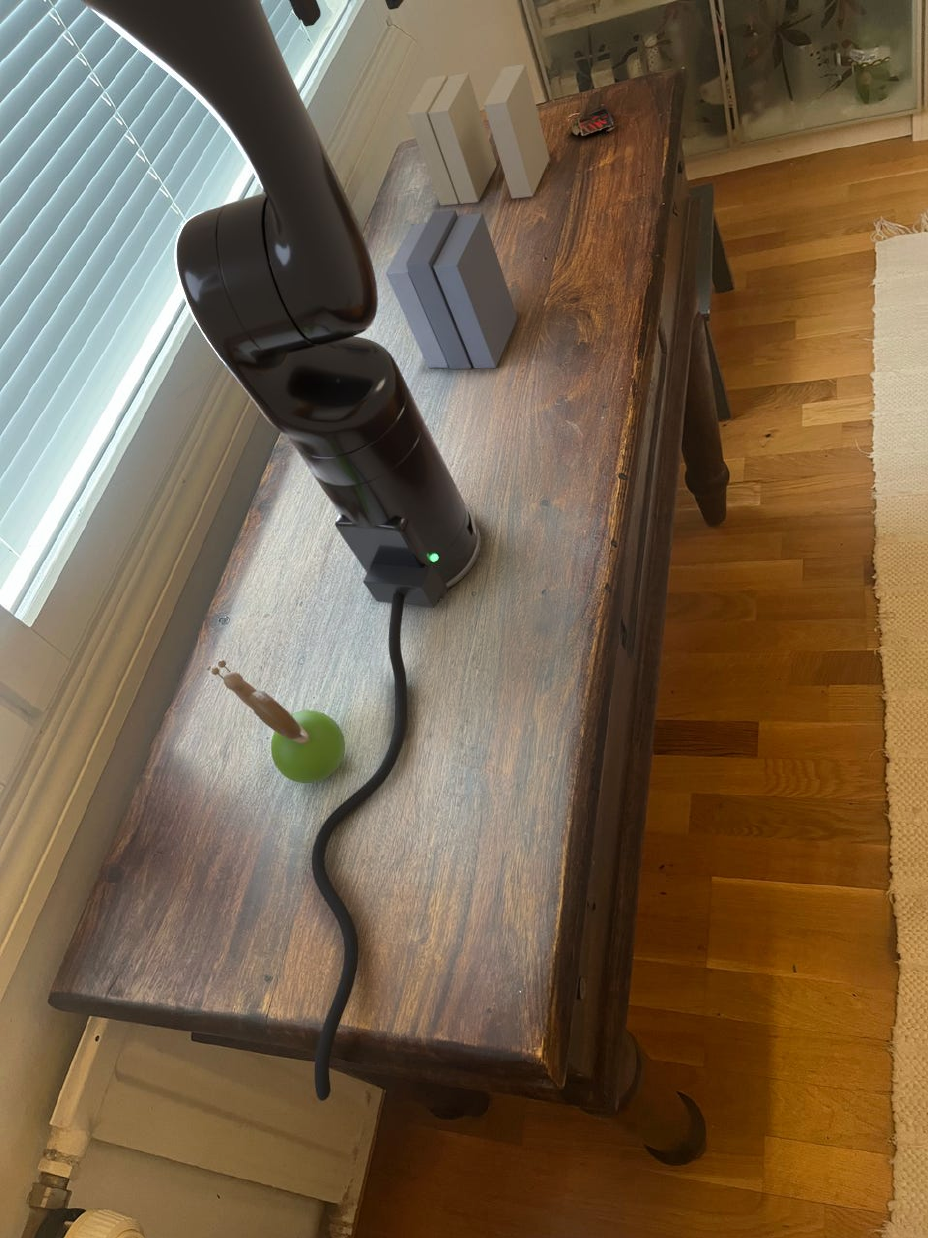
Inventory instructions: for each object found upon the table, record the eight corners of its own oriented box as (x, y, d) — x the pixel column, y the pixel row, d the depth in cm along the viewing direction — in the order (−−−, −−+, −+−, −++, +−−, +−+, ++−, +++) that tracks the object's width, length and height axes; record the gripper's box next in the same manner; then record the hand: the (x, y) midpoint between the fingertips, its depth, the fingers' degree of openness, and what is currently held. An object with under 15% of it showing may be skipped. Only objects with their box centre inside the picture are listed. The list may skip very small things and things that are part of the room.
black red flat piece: (603, 108, 110) (602, 104, 109) (621, 125, 107) (620, 121, 106) (567, 126, 110) (566, 123, 110) (584, 144, 107) (583, 140, 106)
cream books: (478, 202, 108) (447, 108, 99) (440, 205, 110) (406, 114, 101) (496, 164, 111) (468, 70, 102) (459, 169, 113) (428, 77, 104)
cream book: (532, 196, 105) (505, 101, 96) (511, 198, 106) (483, 104, 97) (550, 158, 108) (525, 63, 99) (529, 161, 109) (503, 66, 100)
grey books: (495, 368, 90) (454, 260, 81) (427, 369, 94) (379, 265, 84) (518, 316, 94) (481, 206, 84) (451, 318, 97) (408, 213, 87)
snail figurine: (315, 713, 74) (240, 634, 65) (369, 750, 71) (298, 672, 61) (270, 767, 73) (187, 694, 63) (323, 808, 69) (243, 736, 60)
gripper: (165, -178, 68) (269, 49, 81) (325, -235, 62) (411, 21, 74) (212, -220, 72) (305, 5, 84) (368, -278, 65) (443, -26, 78)
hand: (354, 12), depth 79 cm, fingers open, 8 cm apart
